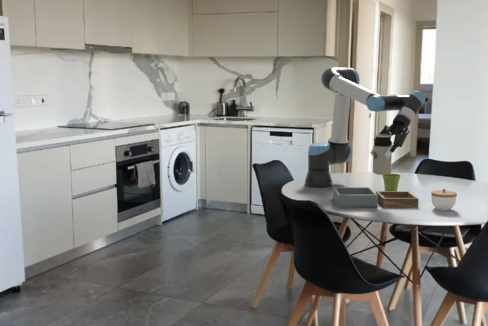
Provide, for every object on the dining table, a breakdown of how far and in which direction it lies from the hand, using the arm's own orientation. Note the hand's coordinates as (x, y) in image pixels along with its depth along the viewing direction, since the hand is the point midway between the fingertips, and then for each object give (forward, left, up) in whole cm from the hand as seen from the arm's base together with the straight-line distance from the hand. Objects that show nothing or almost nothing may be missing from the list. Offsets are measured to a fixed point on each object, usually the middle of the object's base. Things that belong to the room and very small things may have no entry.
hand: (379, 155), depth 248 cm
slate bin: (-2, -10, -23) cm, 26 cm away
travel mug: (-2, +2, -9) cm, 9 cm away
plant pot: (-30, +14, -23) cm, 40 cm away
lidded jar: (+9, +28, -23) cm, 37 cm away
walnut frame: (-3, +10, -23) cm, 25 cm away
